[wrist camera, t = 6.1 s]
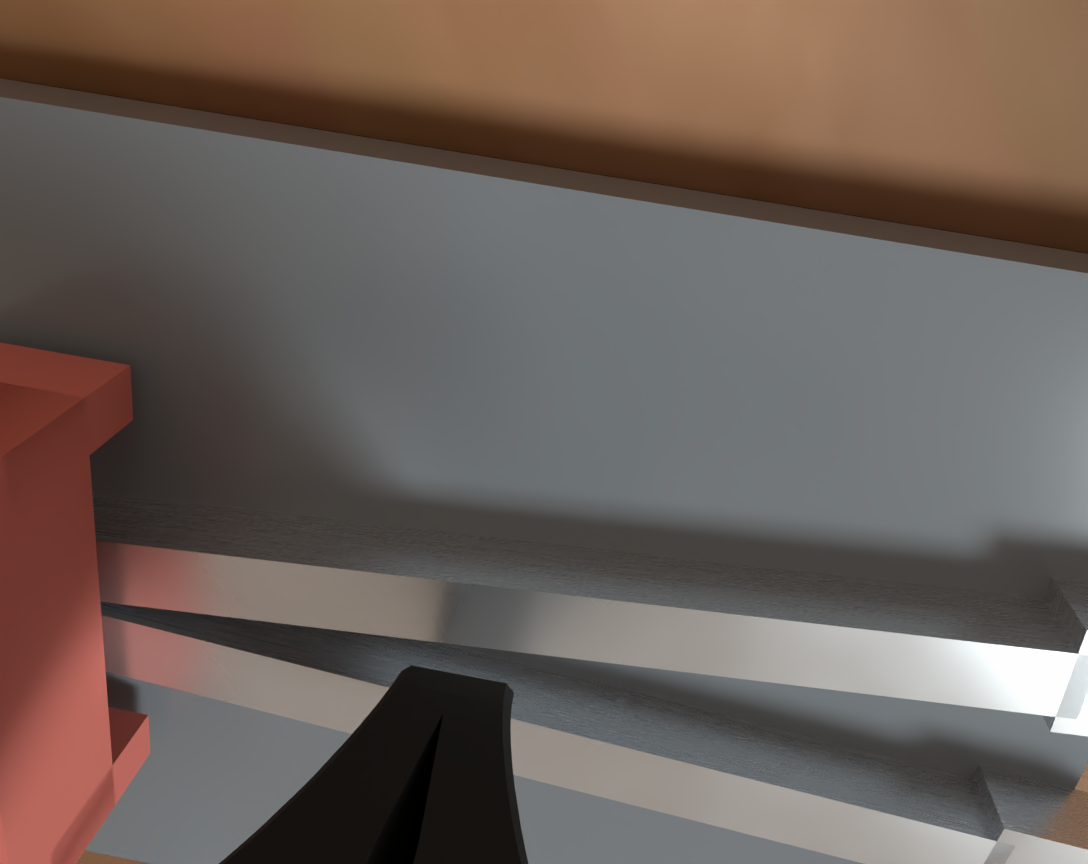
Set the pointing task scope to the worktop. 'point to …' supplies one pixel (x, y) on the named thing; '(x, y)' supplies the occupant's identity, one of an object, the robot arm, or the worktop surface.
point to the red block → (56, 609)
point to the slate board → (547, 411)
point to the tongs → (620, 638)
